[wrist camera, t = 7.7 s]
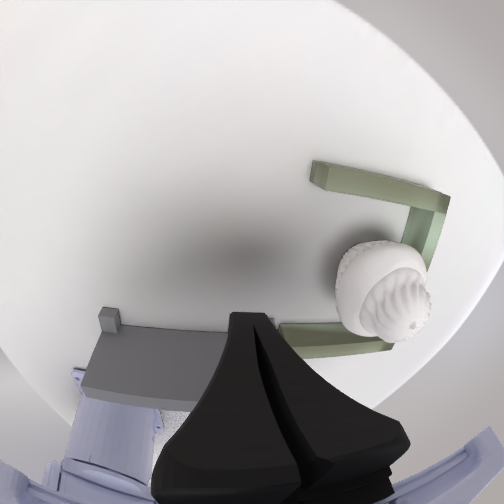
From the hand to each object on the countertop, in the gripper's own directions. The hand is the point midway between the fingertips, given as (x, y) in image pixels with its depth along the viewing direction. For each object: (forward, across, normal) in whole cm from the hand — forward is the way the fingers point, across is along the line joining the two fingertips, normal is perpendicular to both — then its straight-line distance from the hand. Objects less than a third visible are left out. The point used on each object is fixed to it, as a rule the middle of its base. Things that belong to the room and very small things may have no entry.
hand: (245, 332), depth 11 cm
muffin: (+7, -8, 0) cm, 11 cm away
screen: (+6, +3, +6) cm, 10 cm away
